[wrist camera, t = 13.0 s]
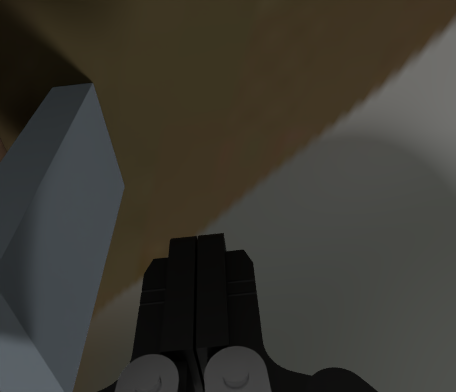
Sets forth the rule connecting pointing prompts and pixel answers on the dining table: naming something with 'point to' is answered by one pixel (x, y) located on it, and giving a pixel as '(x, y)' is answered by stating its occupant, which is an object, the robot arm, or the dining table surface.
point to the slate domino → (54, 238)
